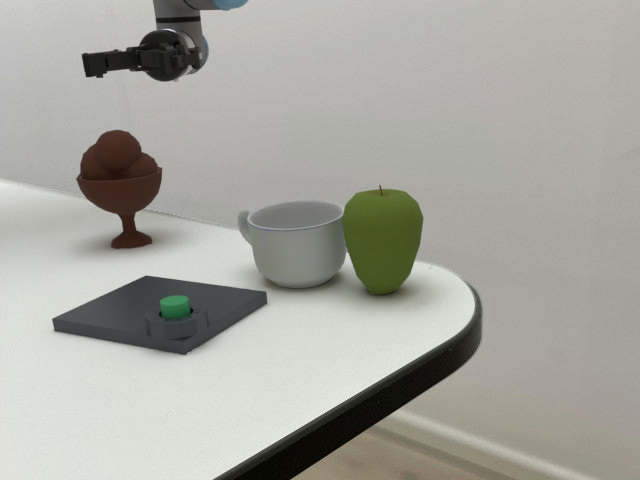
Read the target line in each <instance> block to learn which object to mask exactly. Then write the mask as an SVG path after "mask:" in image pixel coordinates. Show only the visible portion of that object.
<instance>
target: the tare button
mask: <svg viewBox="0 0 640 480" xmlns="http://www.w3.org/2000/svg"><path fill="white" fill-rule="evenodd" d="M160 307H161V313H162V318H167V319H172V318H181V317H185V316H188V315H190V314H191V313H190V305H189V299H188V298H187V297H186V296H170V297H166V298H164V299H162V300H161V301H160Z"/></svg>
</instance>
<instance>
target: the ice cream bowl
mask: <svg viewBox="0 0 640 480" xmlns="http://www.w3.org/2000/svg"><path fill="white" fill-rule="evenodd" d="M79 171H80V173H79V174H78V175H77V176H76V178H75V180H76V182H77V186H78V188H79V190H80V192H81V193H82V194H83V196H84V197H85V198H86V200H87V201H89V202H90V203H91V204H93V205H94V206H95V207H96V208H99V209H101V210H102V211H105V212H106V213H107V212H108V213H112V214H114V215H118V217H119V219H120V221H121V227H122V232H120V233H119V234H118V235H117V236H115V237H114V238H112V240H111V243H110V244H111V245H110V247H111V248H113V249H116V250H120V249H121V250H123V249H124V250H125V249H129V250H130V249H131V250H132V249H136V248H142V247H145V246H147V245H151V244H152V243H153V239H152V236H151V235H148V234H147V233H144V232H142V231H140V230H137V225H136V221H135V219H136V214H137V213H139V212H140V211H142V210H145V208H147V207H148V206H149V205H150V204H152V202H153V201H154V200H155V198H157V196H158V194H159V192H160V189H161V185H162V181H163V167H161V166H159V165H158V163H157V162H156V159H155V158H154V157H152V156H151V155H150V154H149V153H147V152H143V148H142V146H141V143H140V141H138V139H137V138H136V137H135V136H133V135H132V133H130V132H129V131H126V130H123V129H113V130H112V129H111V130H108V131H105V132H103V133H101V134H100V135H99V137H98V138H97V140H96V142H95V143H94V144H92V145H91V146H89V147H88V148H87V150H86V151H84V152H83V153H82V158H81V160H80V163H79Z"/></svg>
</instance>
